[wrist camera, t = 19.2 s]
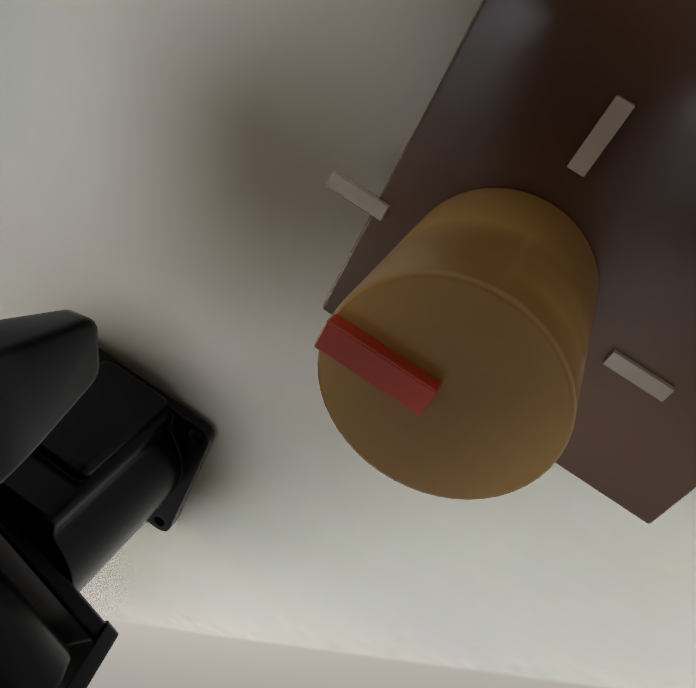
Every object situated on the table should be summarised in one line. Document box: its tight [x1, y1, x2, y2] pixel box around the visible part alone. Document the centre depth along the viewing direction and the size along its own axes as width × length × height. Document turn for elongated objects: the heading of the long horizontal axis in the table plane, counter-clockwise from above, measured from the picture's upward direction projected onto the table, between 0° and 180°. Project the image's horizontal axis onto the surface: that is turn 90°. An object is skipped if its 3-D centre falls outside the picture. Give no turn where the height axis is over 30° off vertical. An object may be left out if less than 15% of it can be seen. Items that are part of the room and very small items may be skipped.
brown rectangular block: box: [323, 0, 696, 523], centre depth 13 cm, size 13×10×3 cm
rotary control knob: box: [315, 188, 599, 500], centre depth 11 cm, size 4×4×5 cm
